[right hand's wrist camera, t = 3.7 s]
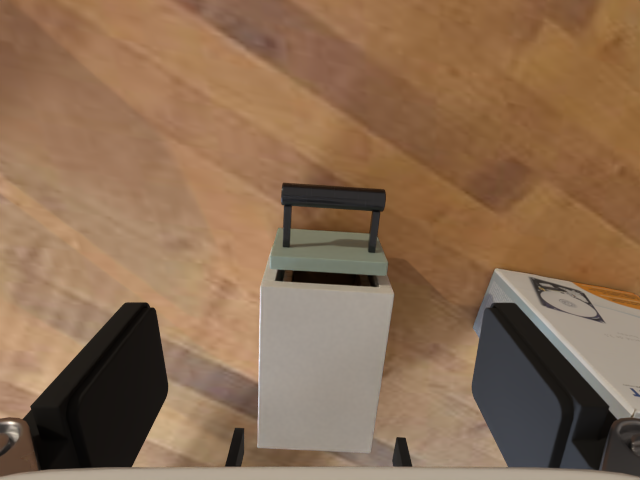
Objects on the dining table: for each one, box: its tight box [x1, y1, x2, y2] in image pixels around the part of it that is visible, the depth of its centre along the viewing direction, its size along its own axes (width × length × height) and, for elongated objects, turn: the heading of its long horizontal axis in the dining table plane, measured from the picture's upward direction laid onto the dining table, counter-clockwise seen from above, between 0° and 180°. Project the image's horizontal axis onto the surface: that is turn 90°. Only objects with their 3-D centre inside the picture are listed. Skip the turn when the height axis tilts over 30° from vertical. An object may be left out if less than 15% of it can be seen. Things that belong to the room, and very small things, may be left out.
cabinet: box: [258, 245, 394, 453], centre depth 39 cm, size 17×11×9 cm, turn 176°
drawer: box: [270, 183, 388, 287], centre depth 37 cm, size 21×9×7 cm, turn 176°
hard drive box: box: [473, 268, 640, 419], centre depth 33 cm, size 16×8×20 cm, turn 79°
